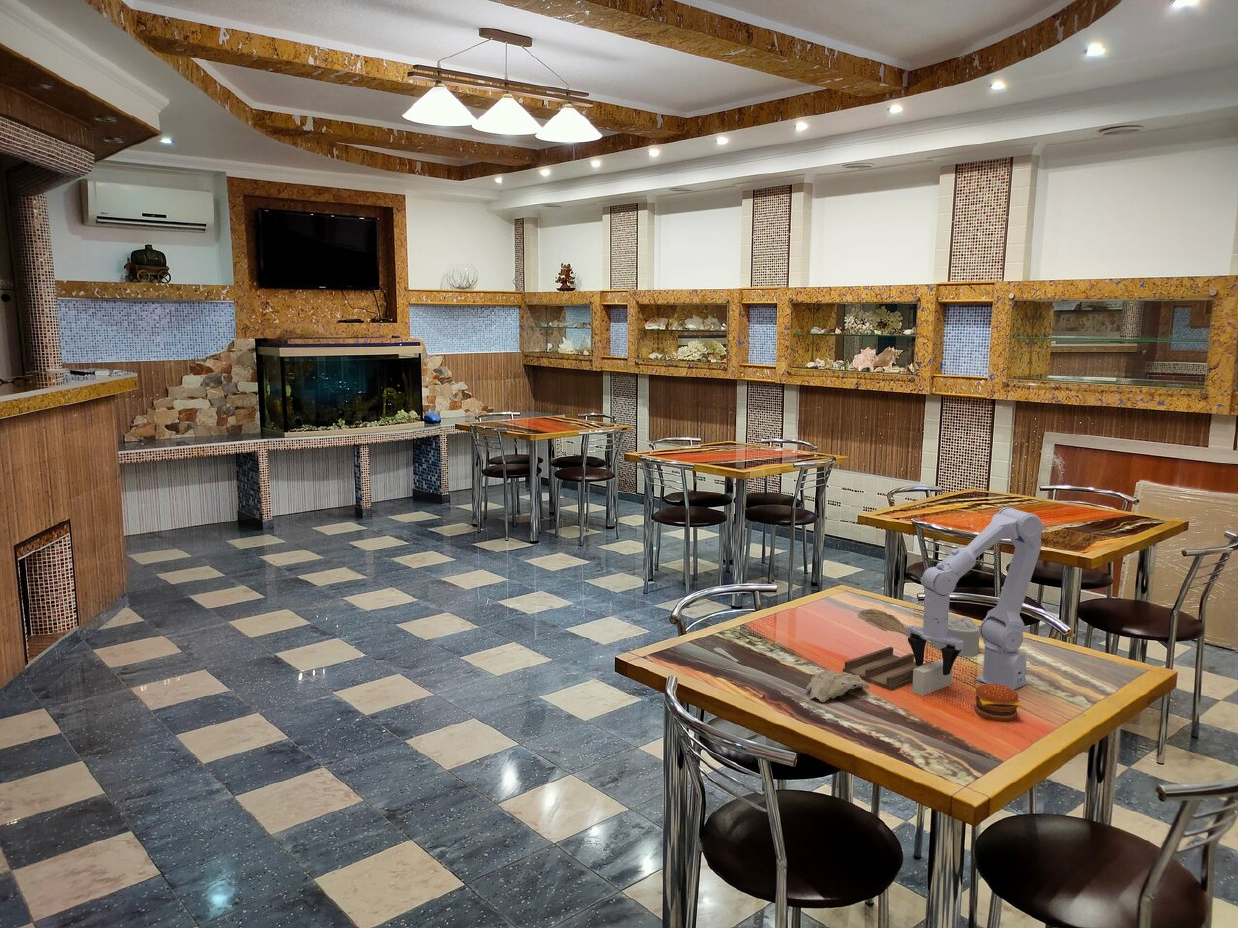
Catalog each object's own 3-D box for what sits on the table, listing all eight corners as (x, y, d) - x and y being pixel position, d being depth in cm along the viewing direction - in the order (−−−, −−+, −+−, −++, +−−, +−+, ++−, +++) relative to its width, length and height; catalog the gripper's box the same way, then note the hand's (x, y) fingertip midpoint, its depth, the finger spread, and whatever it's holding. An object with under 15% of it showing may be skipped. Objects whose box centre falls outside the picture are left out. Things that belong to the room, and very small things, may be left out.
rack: (936, 673, 231) (937, 662, 230) (891, 690, 220) (892, 678, 219) (888, 656, 243) (888, 646, 242) (842, 672, 231) (843, 661, 231)
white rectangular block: (951, 684, 224) (952, 662, 223) (922, 696, 217) (924, 672, 216) (940, 681, 226) (942, 658, 225) (912, 692, 219) (913, 668, 218)
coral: (817, 704, 211) (818, 683, 211) (796, 686, 223) (796, 666, 222) (876, 699, 215) (877, 678, 214) (852, 681, 226) (852, 661, 226)
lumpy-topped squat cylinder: (952, 639, 257) (954, 610, 256) (988, 653, 245) (990, 623, 244) (925, 644, 253) (926, 614, 252) (960, 659, 241) (961, 628, 240)
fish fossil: (927, 637, 260) (927, 633, 259) (897, 643, 257) (897, 639, 256) (876, 609, 284) (876, 606, 284) (848, 615, 281) (848, 611, 281)
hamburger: (968, 704, 212) (970, 677, 211) (1010, 706, 211) (1012, 679, 210) (980, 721, 202) (982, 693, 201) (1024, 723, 202) (1026, 695, 201)
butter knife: (720, 646, 250) (711, 648, 249) (768, 676, 228) (759, 677, 227) (720, 648, 250) (711, 649, 249) (768, 677, 229) (759, 679, 227)
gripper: (900, 611, 222) (898, 664, 224) (953, 627, 210) (949, 682, 212) (917, 606, 226) (914, 658, 228) (969, 621, 215) (966, 675, 217)
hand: (932, 669), depth 221 cm, fingers open, 7 cm apart
